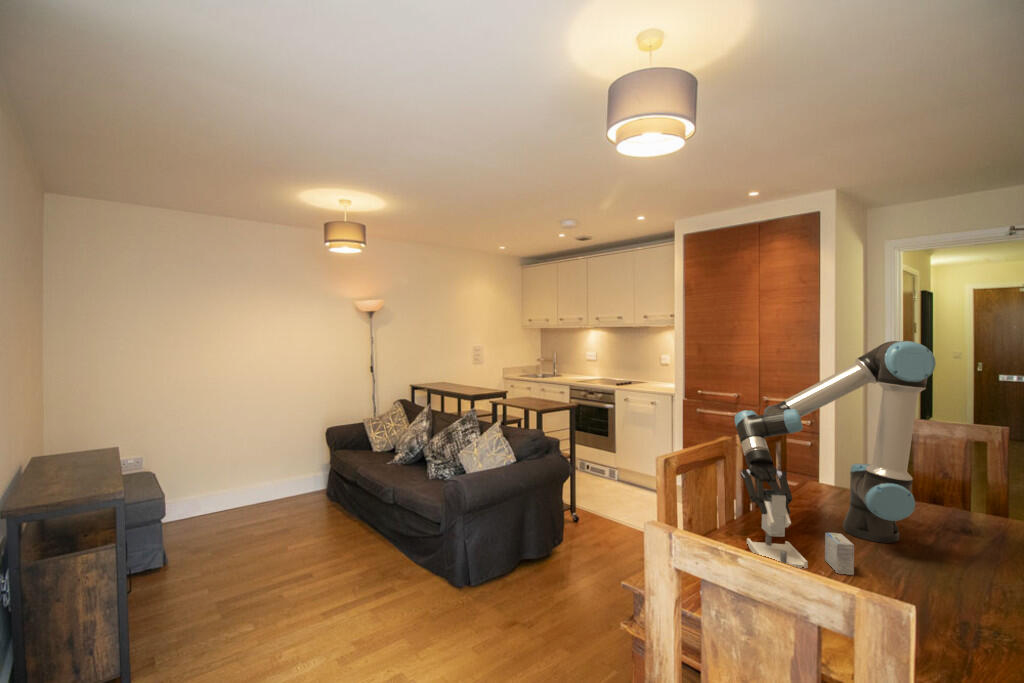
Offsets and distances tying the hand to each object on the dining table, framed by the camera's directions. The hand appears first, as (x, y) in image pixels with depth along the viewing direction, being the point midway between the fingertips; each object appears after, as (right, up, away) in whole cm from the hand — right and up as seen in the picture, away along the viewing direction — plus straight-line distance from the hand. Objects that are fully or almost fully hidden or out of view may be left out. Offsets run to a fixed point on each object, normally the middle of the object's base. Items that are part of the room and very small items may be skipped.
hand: (779, 524), depth 143 cm
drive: (0, -4, +4) cm, 6 cm away
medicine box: (+15, -11, -4) cm, 19 cm away
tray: (+1, -11, +4) cm, 11 cm away
